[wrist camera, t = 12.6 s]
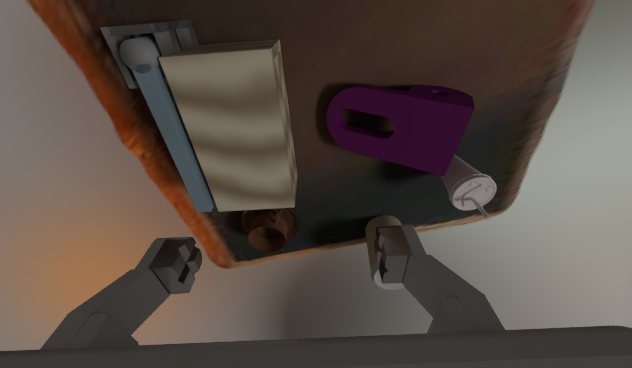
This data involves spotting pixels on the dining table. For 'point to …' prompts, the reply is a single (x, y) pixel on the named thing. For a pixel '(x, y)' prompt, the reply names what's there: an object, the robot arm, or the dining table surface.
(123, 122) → the dining table surface
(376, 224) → the coffee cup
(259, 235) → the cup and saucer
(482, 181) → the smoothie
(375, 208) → the dining table surface
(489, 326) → the robot arm
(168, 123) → the door
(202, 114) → the cabinet
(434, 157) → the mounting bracket
